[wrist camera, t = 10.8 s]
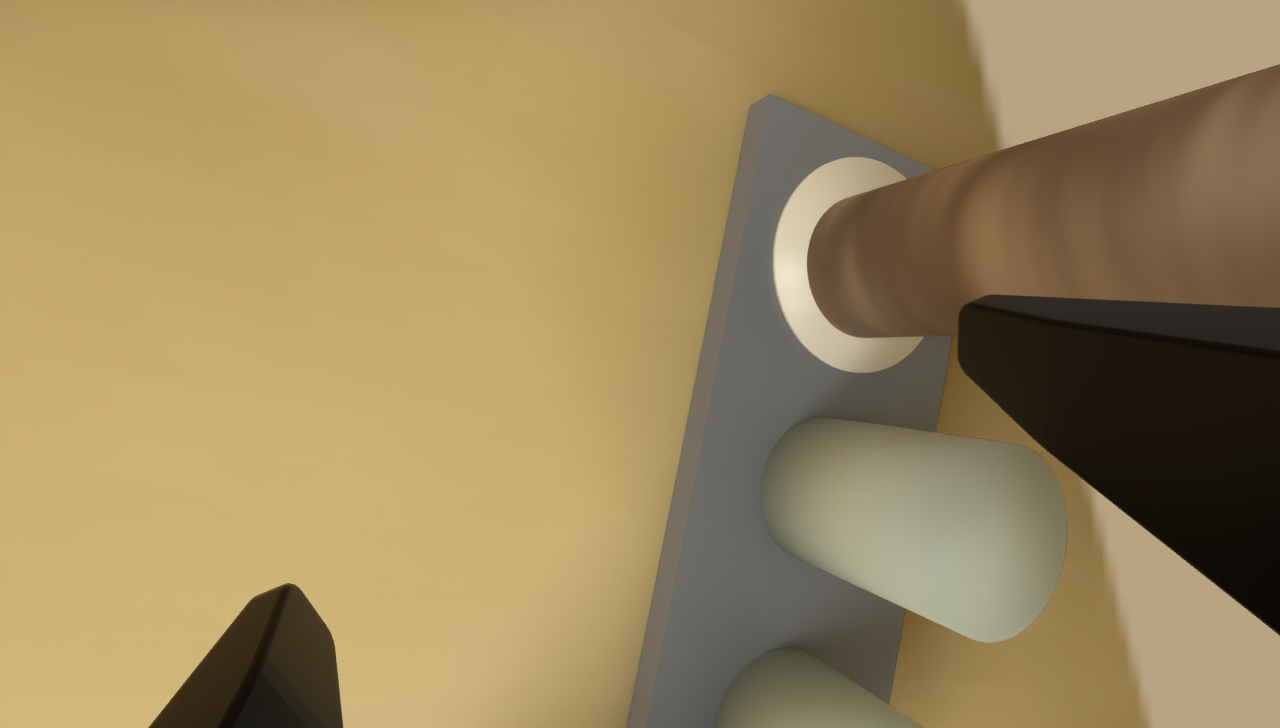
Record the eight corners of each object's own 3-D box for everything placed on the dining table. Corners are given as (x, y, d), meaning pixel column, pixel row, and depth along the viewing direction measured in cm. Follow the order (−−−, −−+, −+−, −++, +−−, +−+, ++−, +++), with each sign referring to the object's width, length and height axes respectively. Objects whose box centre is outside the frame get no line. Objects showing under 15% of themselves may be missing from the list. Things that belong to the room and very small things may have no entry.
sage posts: (821, 792, 23) (1001, 961, 17) (700, 800, 21) (852, 996, 15) (885, 430, 24) (1080, 459, 18) (775, 404, 22) (949, 426, 16)
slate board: (846, 796, 25) (873, 821, 24) (609, 813, 21) (626, 843, 20) (952, 196, 27) (982, 188, 26) (749, 106, 23) (773, 91, 22)
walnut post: (875, 365, 24) (1413, 380, 12) (782, 279, 22) (1299, 192, 10) (936, 256, 25) (1484, 168, 13) (852, 165, 23) (1393, -34, 11)
